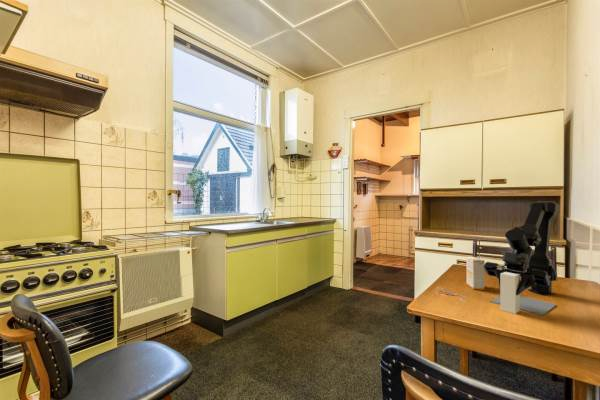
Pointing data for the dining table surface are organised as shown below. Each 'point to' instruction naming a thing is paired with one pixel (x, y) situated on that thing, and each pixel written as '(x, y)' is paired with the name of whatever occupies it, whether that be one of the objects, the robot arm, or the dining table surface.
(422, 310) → the dining table surface
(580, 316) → the dining table surface
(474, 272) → the supplement box
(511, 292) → the block
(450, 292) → the key chain
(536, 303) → the mat
